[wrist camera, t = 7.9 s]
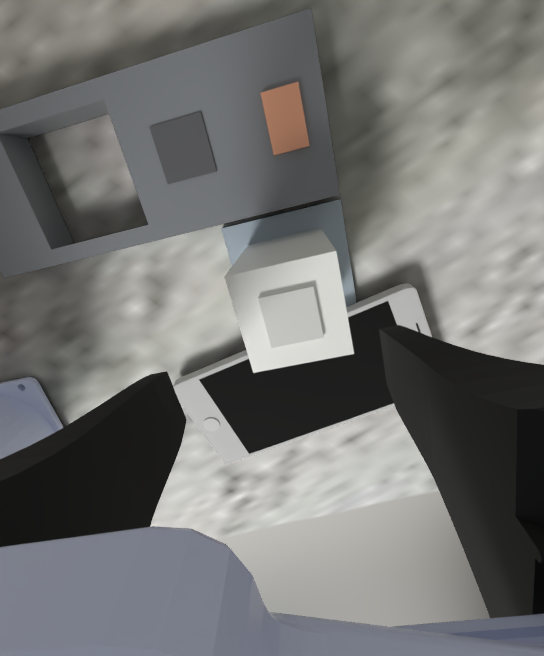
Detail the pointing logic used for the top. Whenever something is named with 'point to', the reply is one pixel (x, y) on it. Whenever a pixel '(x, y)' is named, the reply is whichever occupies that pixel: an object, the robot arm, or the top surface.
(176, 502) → the top surface
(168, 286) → the top surface
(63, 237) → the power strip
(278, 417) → the smartphone
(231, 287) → the charger plug
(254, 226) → the sticky note
